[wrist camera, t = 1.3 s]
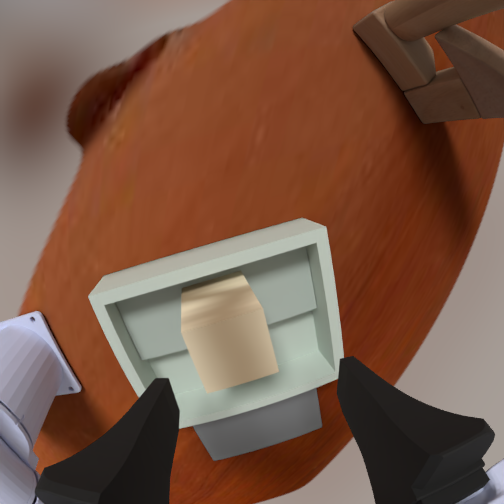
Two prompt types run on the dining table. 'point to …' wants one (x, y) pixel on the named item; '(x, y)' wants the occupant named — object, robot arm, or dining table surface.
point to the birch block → (226, 332)
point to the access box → (268, 294)
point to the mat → (261, 426)
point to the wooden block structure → (422, 58)
